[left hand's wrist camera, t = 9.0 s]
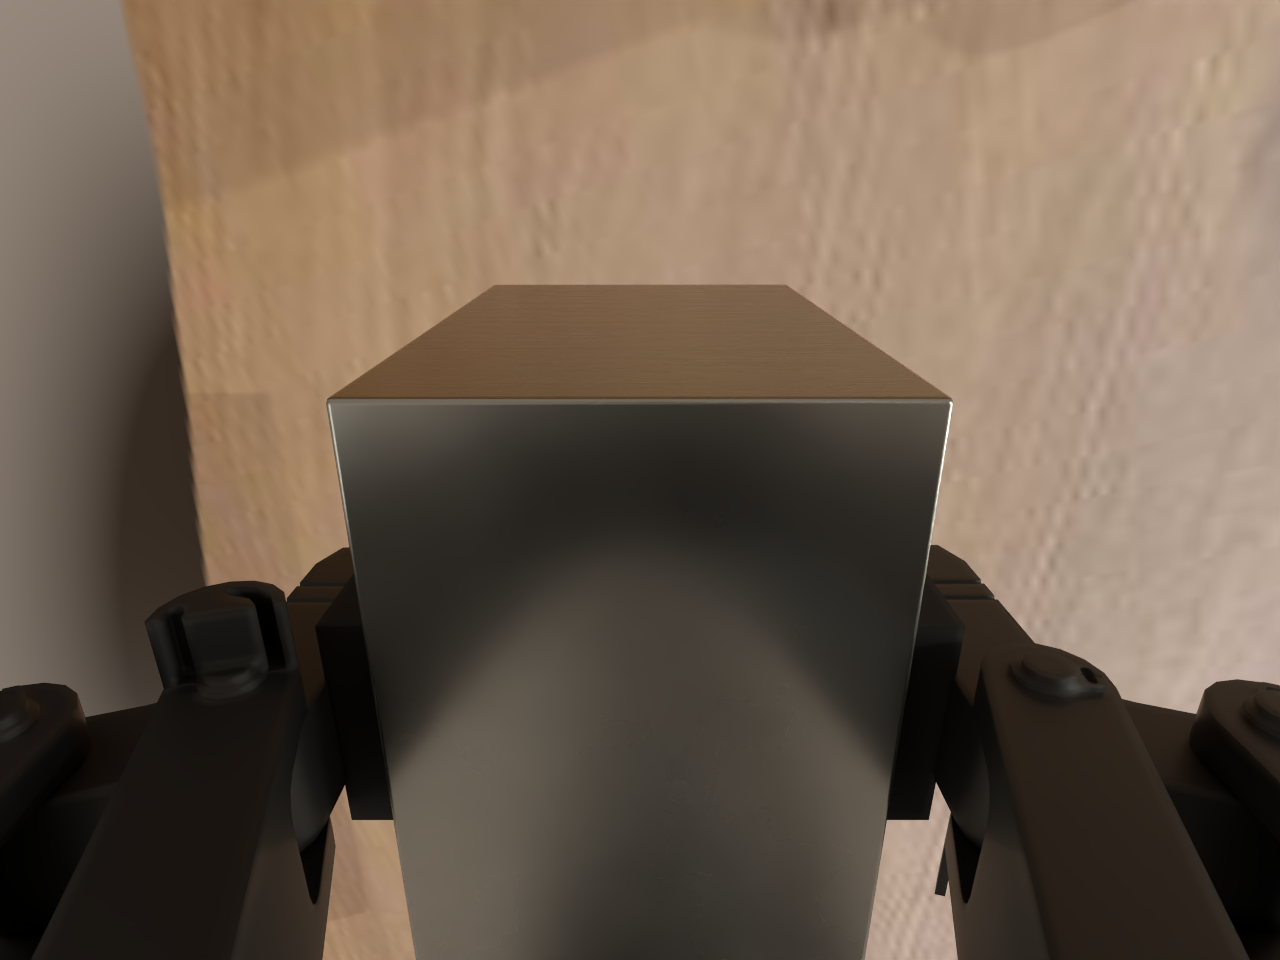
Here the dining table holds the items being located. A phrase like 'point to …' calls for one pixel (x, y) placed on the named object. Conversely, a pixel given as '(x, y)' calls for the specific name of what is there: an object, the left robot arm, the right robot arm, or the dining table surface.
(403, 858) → the bar
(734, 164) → the dining table surface
